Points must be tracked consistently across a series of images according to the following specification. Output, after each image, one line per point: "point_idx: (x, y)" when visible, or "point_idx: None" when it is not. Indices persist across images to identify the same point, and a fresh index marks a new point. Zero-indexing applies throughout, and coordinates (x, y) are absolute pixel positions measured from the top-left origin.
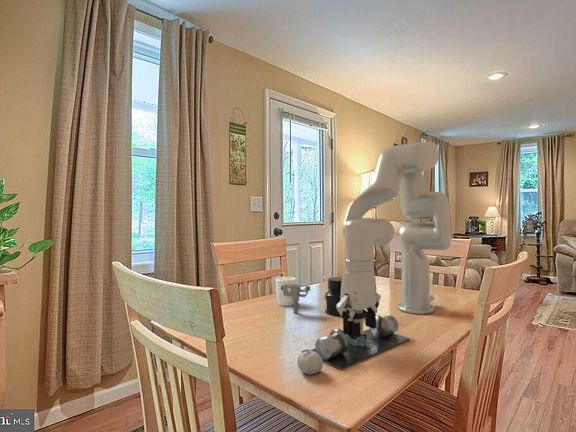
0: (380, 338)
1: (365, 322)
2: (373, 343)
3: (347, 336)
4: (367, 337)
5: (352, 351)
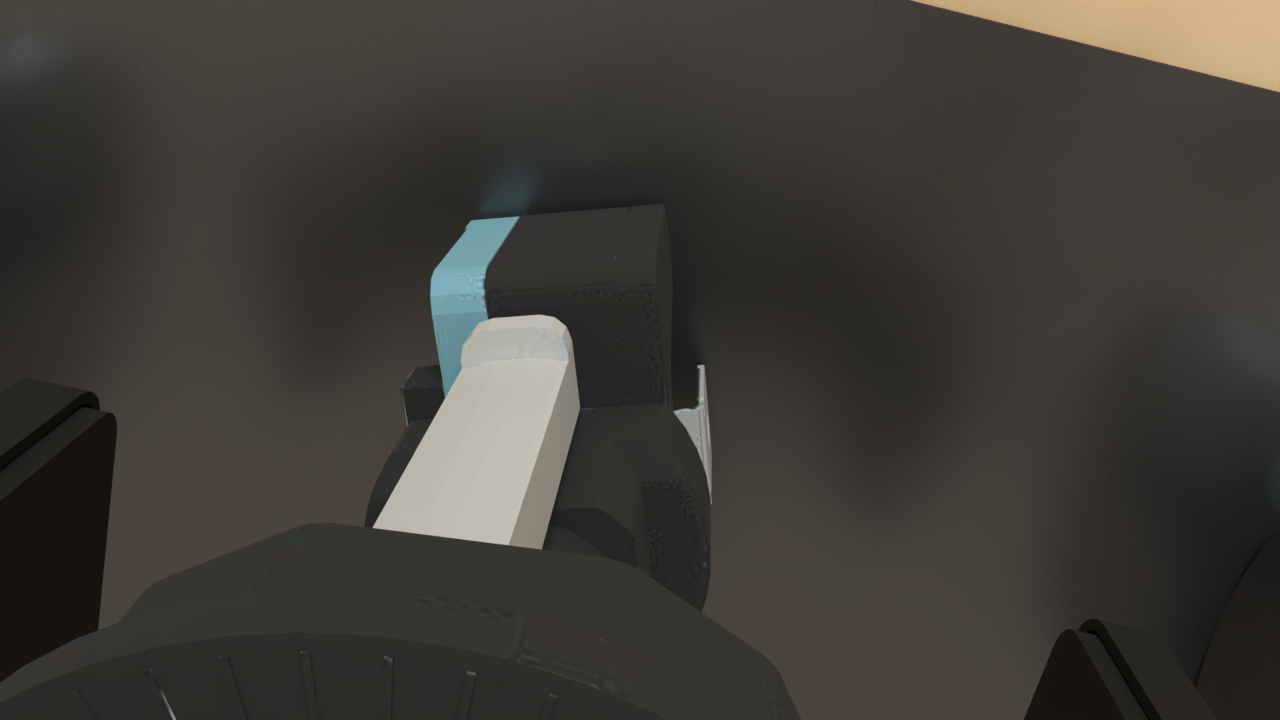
0: (1191, 675)
1: (1098, 683)
2: (826, 664)
3: (445, 263)
4: (1109, 430)
5: (169, 502)
